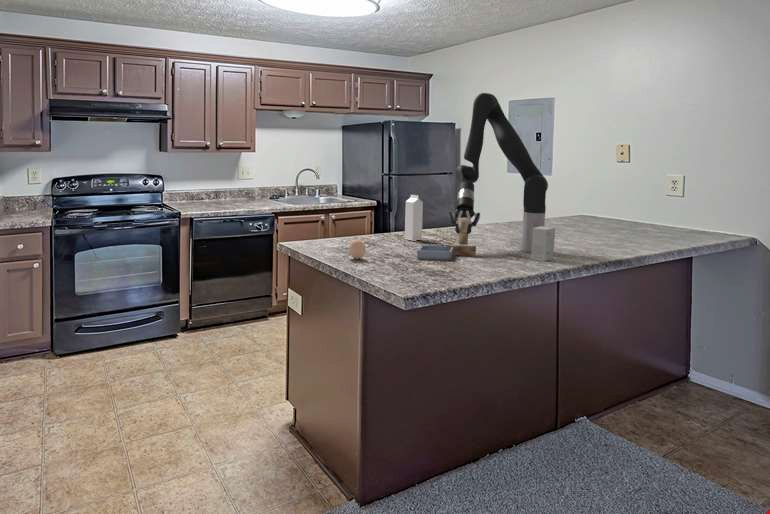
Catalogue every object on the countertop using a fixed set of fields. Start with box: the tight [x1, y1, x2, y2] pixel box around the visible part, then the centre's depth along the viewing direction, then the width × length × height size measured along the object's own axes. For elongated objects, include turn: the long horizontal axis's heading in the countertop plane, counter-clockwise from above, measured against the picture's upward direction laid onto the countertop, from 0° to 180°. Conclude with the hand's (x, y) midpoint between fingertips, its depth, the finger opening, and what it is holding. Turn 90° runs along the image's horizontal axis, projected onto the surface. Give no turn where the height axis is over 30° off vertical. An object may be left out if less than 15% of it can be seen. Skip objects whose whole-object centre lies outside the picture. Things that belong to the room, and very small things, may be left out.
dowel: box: [458, 218, 469, 246], centre depth 241 cm, size 4×4×11 cm
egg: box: [348, 239, 367, 260], centre depth 225 cm, size 7×7×8 cm
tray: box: [417, 244, 454, 262], centre depth 233 cm, size 13×13×4 cm
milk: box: [404, 194, 424, 241], centre depth 273 cm, size 6×6×22 cm
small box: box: [530, 225, 556, 262], centre depth 231 cm, size 8×6×13 cm
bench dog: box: [446, 244, 477, 257], centre depth 238 cm, size 12×3×4 cm, turn 79°
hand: (463, 232), depth 239 cm, fingers closed on dowel, 4 cm apart
